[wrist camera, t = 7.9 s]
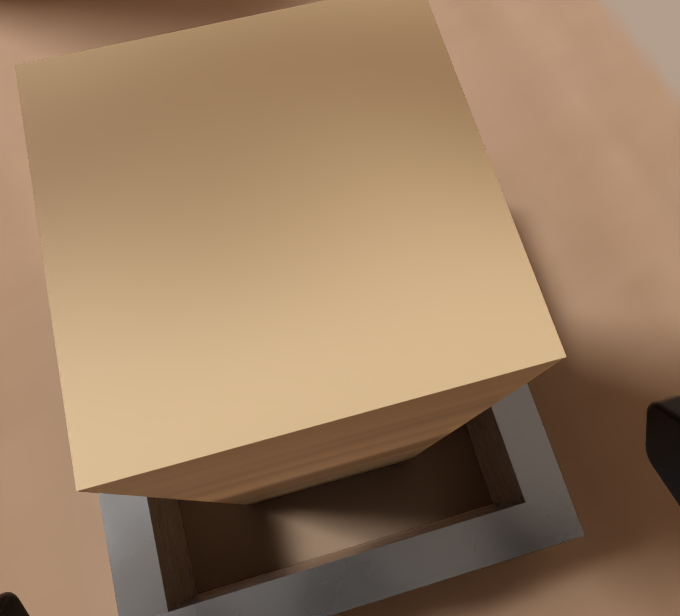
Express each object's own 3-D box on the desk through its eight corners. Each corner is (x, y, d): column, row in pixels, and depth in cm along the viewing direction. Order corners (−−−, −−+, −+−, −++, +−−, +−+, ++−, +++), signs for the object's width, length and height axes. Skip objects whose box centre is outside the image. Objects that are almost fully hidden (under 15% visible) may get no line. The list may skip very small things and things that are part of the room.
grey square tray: (541, 531, 17) (584, 535, 14) (165, 648, 16) (129, 679, 13) (422, 200, 20) (438, 148, 17) (99, 283, 19) (57, 241, 16)
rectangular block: (410, 459, 17) (565, 356, 6) (248, 505, 17) (76, 491, 5) (365, 306, 19) (419, -20, 7) (213, 345, 18) (14, 65, 7)
